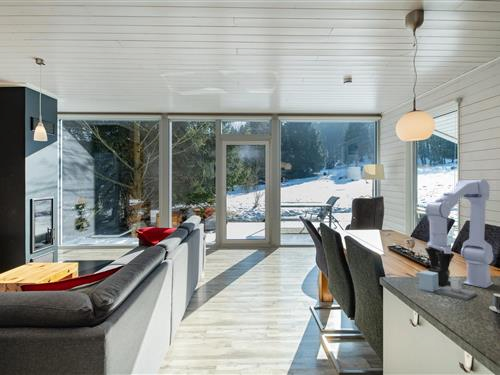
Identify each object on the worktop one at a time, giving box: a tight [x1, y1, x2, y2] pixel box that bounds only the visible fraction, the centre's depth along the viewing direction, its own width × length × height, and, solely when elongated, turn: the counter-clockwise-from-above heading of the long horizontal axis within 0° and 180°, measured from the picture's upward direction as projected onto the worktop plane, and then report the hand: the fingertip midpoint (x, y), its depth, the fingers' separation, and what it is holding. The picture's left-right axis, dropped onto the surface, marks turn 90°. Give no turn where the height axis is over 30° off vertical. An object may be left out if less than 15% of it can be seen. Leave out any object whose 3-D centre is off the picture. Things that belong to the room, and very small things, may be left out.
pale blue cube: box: [418, 270, 440, 293], centre depth 123 cm, size 5×5×7 cm
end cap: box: [428, 265, 451, 286], centre depth 131 cm, size 10×7×7 cm
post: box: [450, 276, 462, 293], centre depth 117 cm, size 3×3×5 cm
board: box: [435, 285, 477, 301], centre depth 117 cm, size 10×10×1 cm
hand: (439, 268), depth 117 cm, fingers open, 7 cm apart
